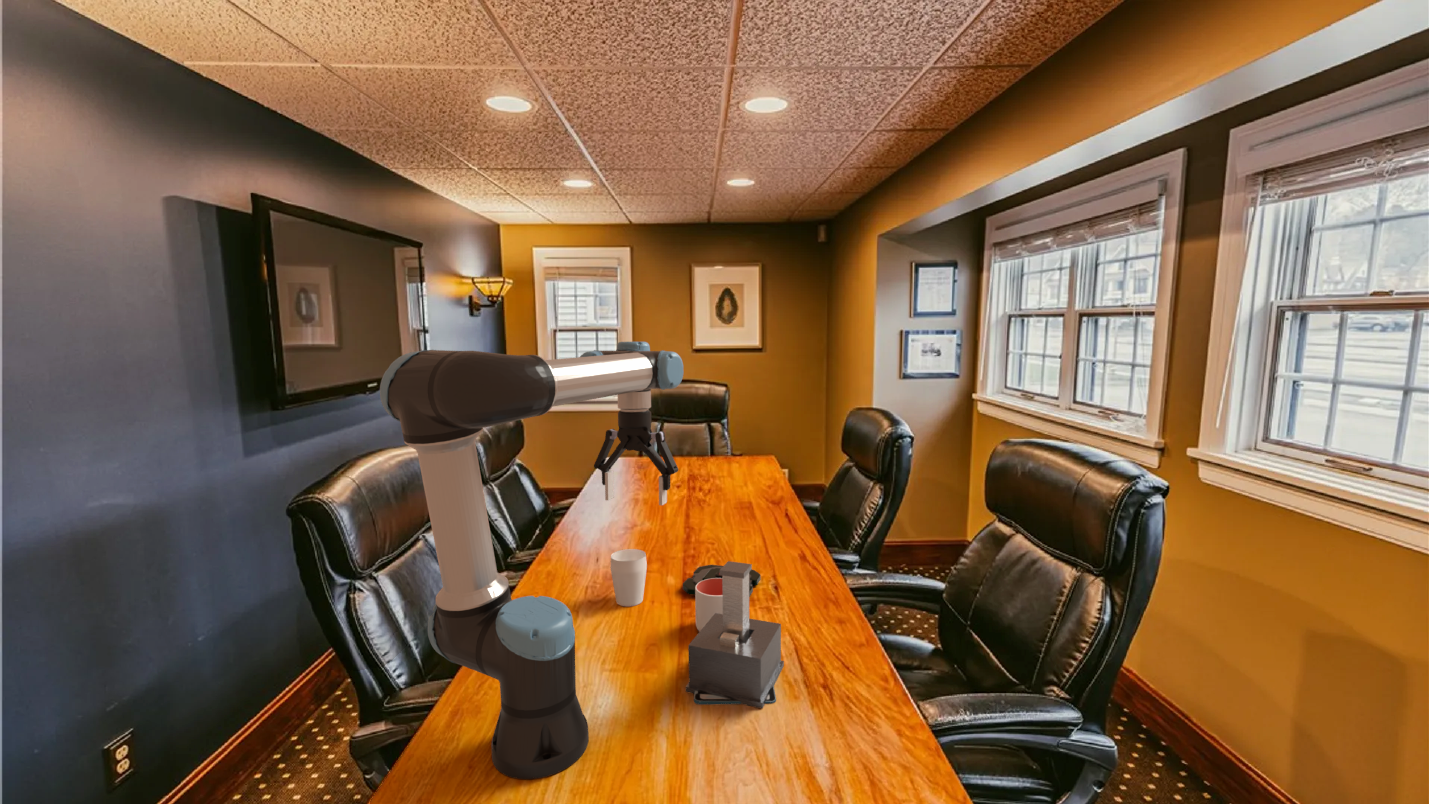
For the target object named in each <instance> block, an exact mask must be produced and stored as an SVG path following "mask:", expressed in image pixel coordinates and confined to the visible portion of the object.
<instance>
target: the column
mask: <svg viewBox="0 0 1429 804" xmlns="http://www.w3.org/2000/svg"><path fill="white" fill-rule="evenodd" d="M752 565H753V564H751V563H747V562H746V563H744V562H738V561H729V560H728V561H727V562H726V563H725V564H724V565H722V566H723V567H722V568H721V569H720V575H722V590H723V633H730V634H736V635H739V642H740V643H745V644H746V642H747V641H748V639H749V619H750V597H749V572H750V571H751V569H752V570H753V568H752V567H753V566H752Z"/></svg>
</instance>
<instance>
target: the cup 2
mask: <svg viewBox="0 0 1429 804" xmlns="http://www.w3.org/2000/svg"><path fill="white" fill-rule="evenodd" d="M694 596H695V597H694V598H695V607H694V609H695V627H696V629H697V631H698V632H700V631H701V630H702V628H703V627H704V626H705V625H706V624H707V622H708V621H709V620H710V619H711V618H712V616H713V615H714V614H715V613H718V614H723V590H722V578H711V579H706V580H703V581H701V582H699V583H698V584H697V585H696V586H695V595H694Z"/></svg>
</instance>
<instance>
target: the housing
mask: <svg viewBox="0 0 1429 804" xmlns="http://www.w3.org/2000/svg"><path fill="white" fill-rule="evenodd" d="M781 627H782V624H781V623H779V622H773V621H767V620H766V621H765V620H759V619H754V618H749V639H748V641H747V642H746V644H745V643H740V642H739V635H736V634H730V633H723V614H718V613H715V614H714V615H713V616H712V618H711V619H710V620H709V621H708V622H707V624H706V625H705V626H704V627H703V628H702V630H701V631H698V633H697V634H696V636H695V637H694V638H693V639H692V640H691V641H690V643H689V644H688V645H687V646H688V683H687V684H686V685H685V692H686V693H688V694H689V693H690V694H694V690H695V691H699V692H703V693H707V694H711V695H716V696H720V697H724V698H728V699H732V700H736V701H740V702H741V704H740V705H744V706H748V707H749V706H750V707H754V708H758V709H764V707H765V705H766V704H765V701H766V699H767V697H768V695H769V693H770V691H771V689H772V687H773V685H774V686H775V684H776V683H777V680H778V678H779V676H780V675H781V672H782V671H783V669H784V666H785V661H784V660H782V653H781V652H782V648H781V647H782V628H781Z"/></svg>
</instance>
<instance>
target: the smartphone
mask: <svg viewBox="0 0 1429 804" xmlns="http://www.w3.org/2000/svg"><path fill="white" fill-rule="evenodd" d="M776 696H777V695H776V690H775V685H773V687H772V689H771V691H770V693H769V695H768V697H767V699H766V701H765V705H766V704H768V705H769V704H770V705H771V704H774V703H776V702H777V697H776ZM693 702H694V704H696V705H703V706H704V705H706V706H707V705H708V706H709V705H710V706H711V705H742V704H741V702H740V701H736V700H732V699H728V698H724V697H720V696H716V695H711V694H707V693H703V692H699V691H695V690H694V693H693Z"/></svg>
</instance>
